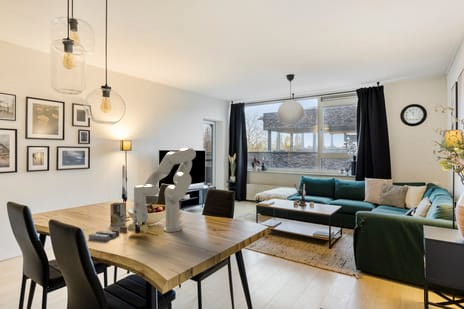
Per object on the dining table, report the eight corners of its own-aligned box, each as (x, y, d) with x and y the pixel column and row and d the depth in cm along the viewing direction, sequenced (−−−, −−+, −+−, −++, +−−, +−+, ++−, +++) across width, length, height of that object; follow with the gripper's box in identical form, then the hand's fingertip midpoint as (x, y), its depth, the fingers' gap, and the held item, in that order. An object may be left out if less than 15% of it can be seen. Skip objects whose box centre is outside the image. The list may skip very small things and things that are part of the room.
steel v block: (99, 235, 171) (99, 230, 171) (116, 236, 168) (116, 232, 168) (88, 239, 162) (88, 234, 162) (105, 241, 159) (105, 236, 159)
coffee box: (126, 223, 198) (126, 202, 198) (120, 226, 192) (120, 204, 192) (116, 222, 201) (116, 202, 200) (110, 225, 194) (110, 203, 194)
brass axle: (132, 230, 175) (132, 222, 175) (148, 231, 172) (147, 224, 172) (127, 232, 170) (127, 224, 170) (143, 234, 167) (143, 226, 167)
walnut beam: (121, 231, 180) (121, 226, 180) (127, 231, 178) (127, 226, 178) (111, 235, 171) (111, 230, 171) (118, 235, 170) (118, 230, 170)
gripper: (136, 207, 161) (137, 236, 161) (152, 202, 177) (152, 228, 178) (126, 206, 163) (127, 235, 163) (142, 201, 179) (143, 227, 180)
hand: (140, 231), depth 170 cm, fingers closed on brass axle, 5 cm apart
